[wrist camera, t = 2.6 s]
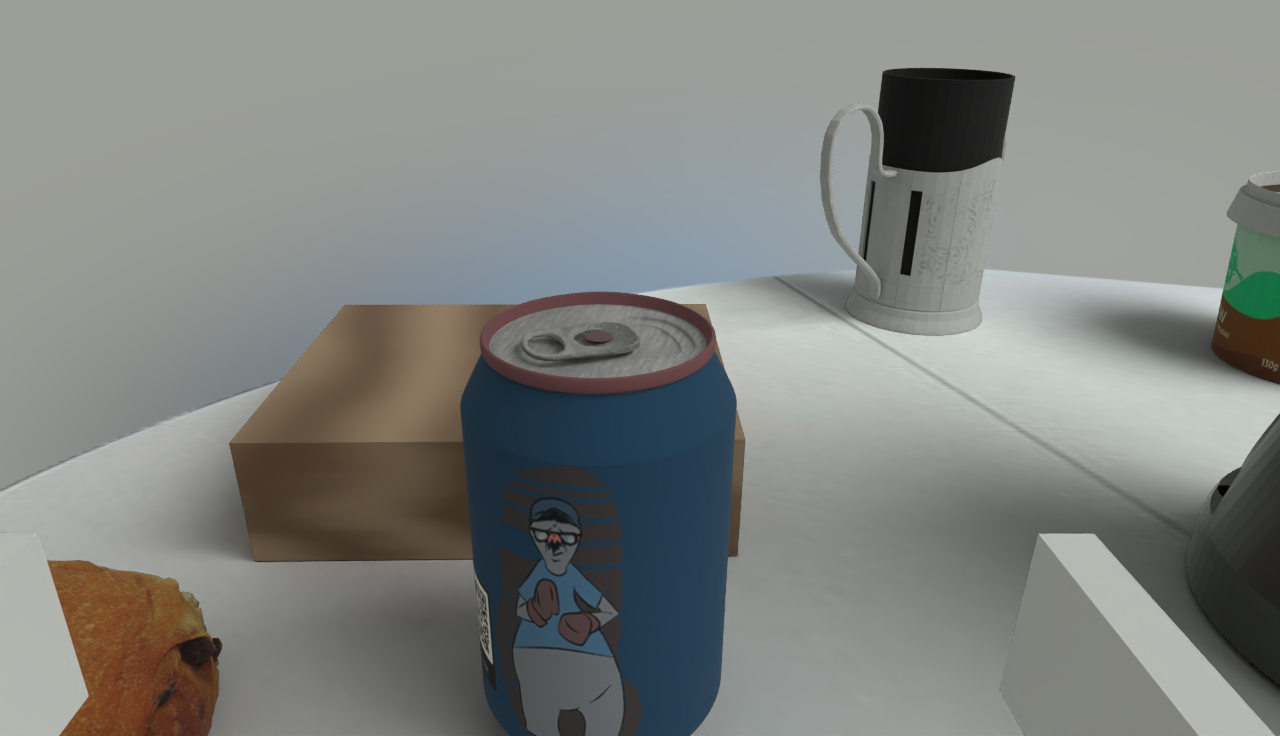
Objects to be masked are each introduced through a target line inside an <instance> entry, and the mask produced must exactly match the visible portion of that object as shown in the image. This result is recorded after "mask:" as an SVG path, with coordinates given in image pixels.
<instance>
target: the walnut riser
mask: <svg viewBox="0 0 1280 736" xmlns="http://www.w3.org/2000/svg"><path fill="white" fill-rule="evenodd" d="M681 305H683V306H686V307H688V308H690V309H692V310H694V311H696V312H698V313H699V314H701V315H702V316H703V317H705V318H706V319H707V320H708V321H709V322H710V323H711V321H710V317H709V314H708V310H707V307H706V304H681ZM514 306H517V305H344V306H343V307H342V309H341V310H340V311H339V312H338V313H337V315H336V316H335V317H334V318H333V319H332V321H331V322H330V323H329V324H328V325H327V327H326V328H325V329H324V330H323V331H322V333H321V334H320V335H319V336H318V337H317V339H316V340H315V341H314V342H313V343H312V345H311V346H310V347H309V348H308V349H307V351H306V352H305V353H304V354H303V356H302V357H301V358H300V359H299V360H298V361H297V363H296V364H295V365H294V366H293V367H292V369H291V370H290V371H289V372H288V373H287V375H286V376H285V377H284V378H283V379H282V380H281V382H280V383H279V384H278V385H277V386H276V388H275V389H274V390H273V391H272V392H271V394H270V395H269V396H268V397H267V398H266V400H265V401H264V402H263V403H262V404H261V406H260V407H259V408H258V409H257V410H256V412H255V413H254V414H253V415H252V416H251V418H250V419H249V420H248V421H247V422H246V424H245V425H244V426H243V427H242V428H241V430H240V431H239V432H238V433H237V434H236V436H235V437H234V438H233V439H232V440H231V442H230V443H229V444H230V449H231V454H232V458H233V463H234V468H235V472H236V477H237V482H238V486H239V491H240V495H241V500H242V505H243V509H244V514H245V519H246V523H247V528H248V533H249V537H250V542H251V546H252V551H253V556H254V560H255V561H311V560H401V559H473V552H472V540H471V529H470V517H469V505H468V494H467V482H466V470H465V458H464V447H463V435H462V423H461V412H460V402H461V398H462V394H463V392H464V389H465V387H466V385H467V382H468V380H469V378H470V376H471V374H472V372H473V370H474V367H475V365H476V363H477V361H478V359H479V357H480V355H481V350H480V335H481V332H482V330H483V328H484V326H485V325H486V324H487V323H488V322H489V321H490V320H491V319H492V318H493V317H495V316H496V315H498V314H499V313H501V312H503V311H505V310H507V309H509V308H511V307H514ZM711 325H712V324H711ZM715 352H716V354H717V356H718V358H719V360H720V362H721V364H722V366H723V368H724V365H723V362H722V358H721V355H720V351H719V348H718V345H717V341H716V347H715ZM724 370H725V368H724ZM744 451H745V437H744V433H743V430H742V427H741V423H740V420H739V416H738V413H737V410H736V423H735V440H734V458H733V475H732V492H731V509H730V526H729V543H728V556H737V555H738V540H739V525H740V511H741V496H742V481H743V466H744Z"/></svg>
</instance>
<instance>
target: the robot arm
mask: <svg viewBox="0 0 1280 736" xmlns="http://www.w3.org/2000/svg"><path fill="white" fill-rule="evenodd" d="M1186 572H1187V577H1188V580H1189V584H1190V586H1191V589H1192V591H1193V593H1194V595H1195V597H1196V599H1197V601H1198V603H1199V604H1200V606H1201V608H1202V609H1203V611H1204V612H1205V614H1206V615H1207V616H1208V618H1209V619H1210V620H1211V621H1212V623H1213V624H1214V625H1215V627H1216V628H1217V629H1218V630H1219V631H1220V632H1221V633H1222V635H1223V636H1224V637H1225V638H1226V639H1227V640H1228V641H1229V642H1230V643H1231V644H1232V645H1233V646H1234V647H1235V648H1236V649H1237V650H1238V651H1239V652H1240V653H1241V654H1242V655H1243V656H1244V657H1246V658H1247V659H1248V660H1249V661H1250V662H1251V663H1252V664H1253V665H1255V666H1256V667H1257V668H1258V669H1259V670H1261V671H1262V672H1263V673H1264V674H1265V675H1267V676H1268V677H1269V678H1270V679H1272V680H1273V681H1274V682H1276V683H1277V684H1278V685H1280V414H1279V415H1278V416H1277V417H1276V418H1275V420H1274V421H1273V422H1272V423H1271V425H1270V426H1269V427H1268V428H1267V430H1266V431H1265V432H1264V434H1263V435H1262V436H1261V437H1260V439H1259V440H1258V441H1257V443H1256V444H1255V446H1254V447H1253V449H1252V450H1251V451H1250V453H1249V454H1248V456H1247V458H1246V459H1245V461H1244V463H1243V465H1242V466H1241V467H1240V468H1238V469H1236V470H1234V471H1232V472H1231V473H1229V474H1228V475H1226V476H1225V477H1224V478H1222V479H1221V480H1220V481H1219V483H1218V484H1217V485H1216V486H1215V487H1214V488H1213V489H1212V491H1211V492H1210V493H1209V495H1208V497H1207V498H1206V500H1205V502H1204V504H1203V506H1202V508H1201V511H1200V514H1199V517H1198V520H1197V523H1196V526H1195V529H1194V532H1193V535H1192V538H1191V541H1190V544H1189V547H1188V550H1187V554H1186ZM999 691H1000V692H1001V694H1002V696H1003V698H1004V700H1005V701H1006V703H1007V705H1008V707H1009V709H1010V710H1011V712H1012V714H1013V716H1014V718H1015V719H1016V721H1017V723H1018V725H1019V727H1020V728H1021V730H1022V732H1023V734H1024V735H1025V736H1275V735H1274V734H1273V733H1272V731H1271V730H1270V729H1269V728H1268V727H1267V726H1266V725H1265V724H1264V722H1263V721H1262V720H1261V719H1260V718H1259V717H1258V716H1257V715H1256V714H1255V712H1254V711H1253V710H1252V709H1251V708H1250V707H1249V706H1248V705H1247V704H1246V702H1245V701H1244V700H1243V699H1242V698H1241V697H1240V696H1239V695H1238V693H1237V692H1236V691H1235V690H1234V689H1233V688H1232V687H1231V686H1230V685H1229V683H1228V682H1227V681H1226V680H1225V679H1224V678H1223V677H1222V676H1221V675H1220V673H1219V672H1218V671H1217V670H1216V669H1215V668H1214V667H1213V666H1212V665H1211V663H1210V662H1209V661H1208V660H1207V659H1206V658H1205V657H1204V656H1203V654H1202V653H1201V652H1200V651H1199V650H1198V649H1197V648H1196V647H1195V646H1194V644H1193V643H1192V642H1191V641H1190V640H1189V639H1188V638H1187V637H1186V636H1185V634H1184V633H1183V632H1182V631H1181V630H1180V629H1179V628H1178V627H1177V625H1176V624H1175V623H1174V622H1173V621H1172V620H1171V619H1170V618H1169V617H1168V615H1167V614H1166V613H1165V612H1164V611H1163V610H1162V609H1161V608H1160V607H1159V605H1158V604H1157V603H1156V602H1155V601H1154V600H1153V599H1152V598H1151V596H1150V595H1149V594H1148V593H1147V592H1146V591H1145V590H1144V589H1143V588H1142V586H1141V585H1140V584H1139V583H1138V582H1137V581H1136V580H1135V579H1134V578H1133V576H1132V575H1131V574H1130V573H1129V572H1128V571H1127V570H1126V569H1125V567H1124V566H1123V565H1122V564H1121V563H1120V562H1119V561H1118V560H1117V559H1116V557H1115V556H1114V555H1113V554H1112V553H1111V552H1110V551H1109V550H1108V549H1107V547H1106V546H1105V545H1104V544H1103V543H1102V542H1101V541H1100V540H1099V539H1098V537H1097V536H1096V535H1095V534H1038V537H1037V541H1036V545H1035V549H1034V553H1033V557H1032V561H1031V565H1030V569H1029V573H1028V577H1027V581H1026V585H1025V589H1024V593H1023V597H1022V601H1021V605H1020V609H1019V613H1018V618H1017V622H1016V626H1015V630H1014V634H1013V638H1012V642H1011V646H1010V650H1009V654H1008V658H1007V662H1006V666H1005V670H1004V674H1003V678H1002V682H1001V686H1000V690H999ZM88 696H89V695H88V692H87V689H86V685H85V682H84V679H83V676H82V672H81V669H80V666H79V663H78V659H77V656H76V653H75V650H74V646H73V643H72V640H71V637H70V633H69V630H68V627H67V624H66V621H65V617H64V614H63V611H62V608H61V604H60V601H59V598H58V595H57V591H56V588H55V585H54V582H53V578H52V575H51V572H50V569H49V566H48V562H47V559H46V556H45V553H44V549H43V546H42V543H41V540H40V536H39V533H0V736H59V735H60V734H61V732H62V731H63V730H64V728H65V727H66V726H67V724H68V723H69V722H70V720H71V719H72V718H73V716H74V715H75V714H76V712H77V711H78V710H79V708H80V707H81V706H82V704H83V703H84V702H85V700H86V699H87V698H88Z"/></svg>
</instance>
